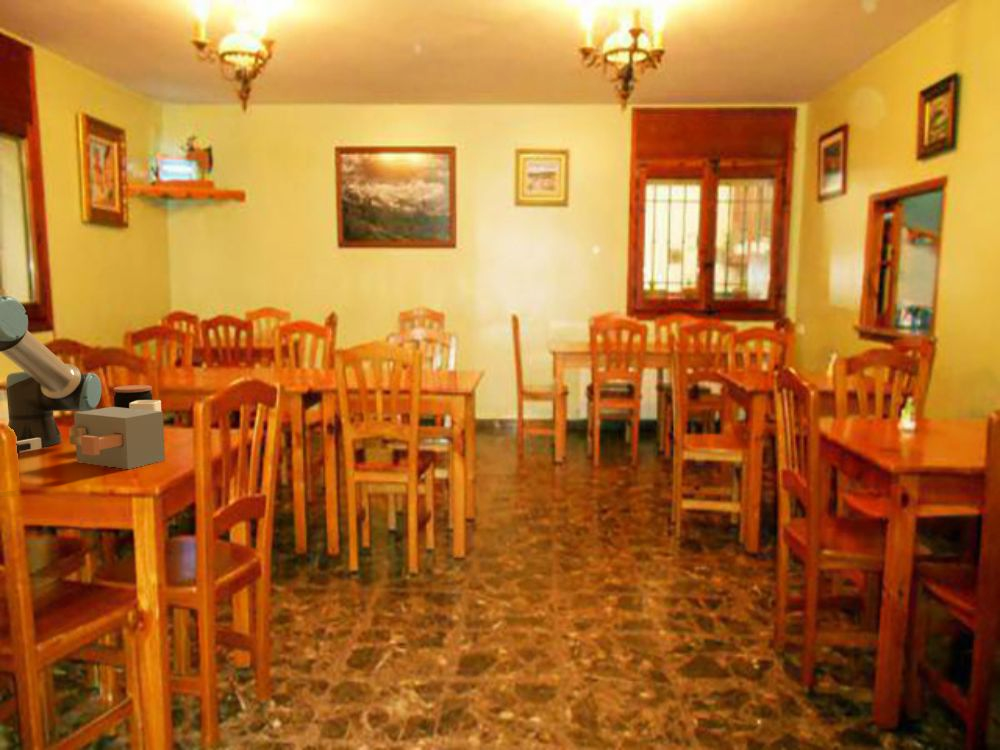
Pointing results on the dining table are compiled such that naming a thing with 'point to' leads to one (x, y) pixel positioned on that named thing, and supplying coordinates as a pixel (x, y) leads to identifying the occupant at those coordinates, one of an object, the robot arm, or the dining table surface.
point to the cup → (146, 405)
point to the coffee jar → (131, 394)
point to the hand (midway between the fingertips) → (39, 443)
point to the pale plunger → (76, 435)
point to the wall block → (124, 436)
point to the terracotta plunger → (100, 443)
